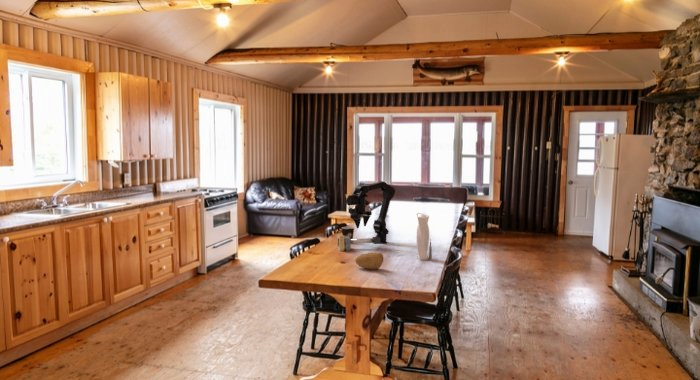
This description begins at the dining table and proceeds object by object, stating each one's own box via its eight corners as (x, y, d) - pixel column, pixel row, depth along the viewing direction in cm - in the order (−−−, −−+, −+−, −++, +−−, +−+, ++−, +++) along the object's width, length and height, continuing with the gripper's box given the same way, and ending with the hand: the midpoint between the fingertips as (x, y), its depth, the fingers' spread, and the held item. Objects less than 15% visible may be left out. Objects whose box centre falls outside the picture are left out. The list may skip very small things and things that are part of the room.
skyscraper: (419, 261, 272) (419, 214, 270) (413, 258, 280) (414, 212, 277) (432, 260, 275) (433, 213, 272) (426, 257, 282) (427, 211, 280)
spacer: (341, 248, 306) (341, 233, 305) (344, 250, 298) (344, 236, 297) (337, 248, 305) (337, 234, 304) (339, 251, 297) (339, 236, 296)
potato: (358, 265, 262) (358, 249, 261) (385, 268, 256) (385, 251, 255) (353, 269, 253) (353, 252, 253) (380, 272, 248) (381, 255, 247)
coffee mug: (354, 240, 329) (354, 226, 328) (353, 243, 321) (353, 229, 320) (338, 240, 331) (338, 226, 330) (336, 242, 322) (336, 228, 321)
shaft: (378, 242, 309) (378, 236, 309) (380, 243, 305) (380, 237, 305) (345, 244, 304) (345, 238, 304) (346, 245, 300) (346, 239, 300)
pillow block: (347, 247, 307) (347, 235, 306) (350, 250, 298) (350, 238, 298) (342, 247, 306) (343, 235, 306) (346, 250, 298) (346, 238, 297)
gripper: (358, 201, 323) (358, 223, 325) (343, 205, 307) (343, 228, 309) (372, 202, 317) (372, 225, 319) (357, 206, 301) (358, 230, 303)
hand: (361, 227), depth 312 cm, fingers open, 9 cm apart
